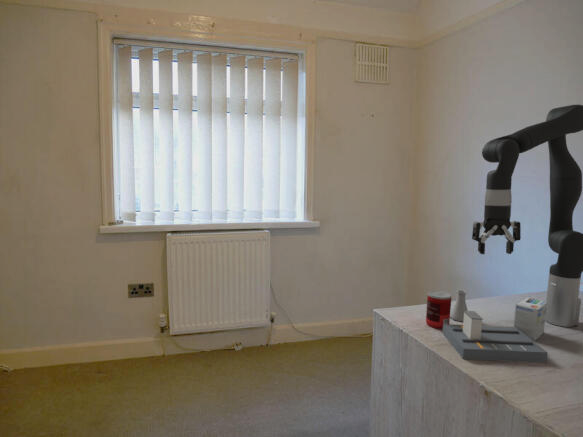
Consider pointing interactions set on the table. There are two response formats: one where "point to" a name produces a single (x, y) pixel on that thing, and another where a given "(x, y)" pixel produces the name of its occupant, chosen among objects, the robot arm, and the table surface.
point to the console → (495, 344)
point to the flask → (459, 307)
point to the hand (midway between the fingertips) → (495, 253)
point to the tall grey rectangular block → (472, 325)
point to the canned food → (438, 309)
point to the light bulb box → (530, 317)
